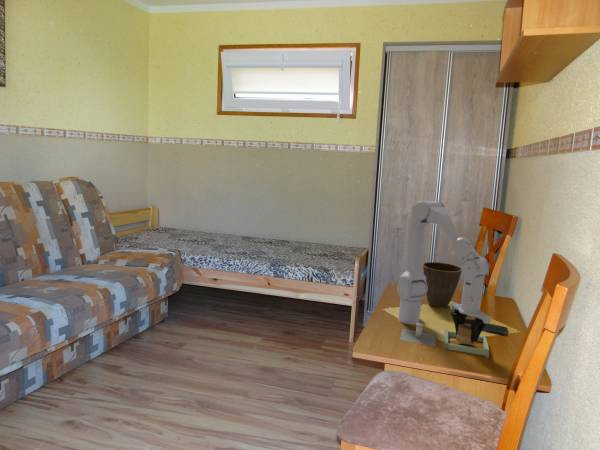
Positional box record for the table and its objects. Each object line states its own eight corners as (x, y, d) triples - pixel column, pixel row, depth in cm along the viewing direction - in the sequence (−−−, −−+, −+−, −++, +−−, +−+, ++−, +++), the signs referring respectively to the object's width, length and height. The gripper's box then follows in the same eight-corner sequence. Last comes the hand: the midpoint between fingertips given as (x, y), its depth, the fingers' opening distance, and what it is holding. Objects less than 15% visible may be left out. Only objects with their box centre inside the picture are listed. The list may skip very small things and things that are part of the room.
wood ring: (453, 338, 156) (454, 324, 155) (465, 336, 158) (467, 323, 158) (466, 345, 151) (468, 331, 150) (478, 343, 154) (480, 329, 153)
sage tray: (444, 337, 163) (445, 330, 162) (484, 343, 160) (485, 336, 159) (444, 351, 151) (445, 343, 150) (488, 358, 148) (489, 350, 147)
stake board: (402, 331, 166) (403, 316, 165) (435, 336, 163) (437, 321, 162) (399, 342, 155) (401, 326, 154) (435, 348, 152) (437, 332, 151)
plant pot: (459, 313, 190) (465, 272, 188) (420, 308, 192) (425, 268, 190) (454, 302, 205) (458, 264, 202) (417, 297, 207) (421, 260, 204)
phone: (506, 333, 168) (460, 324, 175) (505, 337, 168) (460, 327, 175) (507, 327, 175) (464, 318, 182) (507, 330, 175) (463, 321, 182)
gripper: (445, 290, 157) (440, 331, 159) (481, 304, 144) (475, 348, 146) (460, 288, 160) (455, 328, 162) (497, 302, 148) (492, 345, 150)
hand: (466, 337), depth 155 cm, fingers closed on wood ring, 5 cm apart
